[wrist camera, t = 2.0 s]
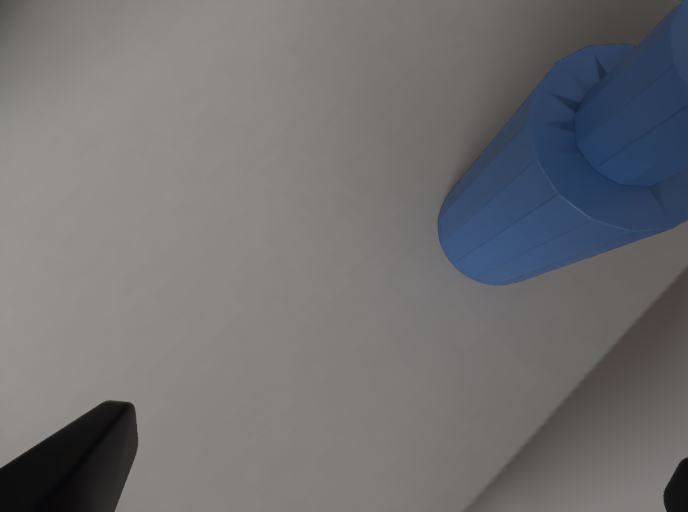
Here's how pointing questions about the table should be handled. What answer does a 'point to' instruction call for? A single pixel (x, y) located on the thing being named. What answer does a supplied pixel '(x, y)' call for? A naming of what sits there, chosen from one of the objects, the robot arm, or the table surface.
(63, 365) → the table surface
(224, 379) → the table surface
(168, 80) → the table surface
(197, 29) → the table surface
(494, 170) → the bottle
